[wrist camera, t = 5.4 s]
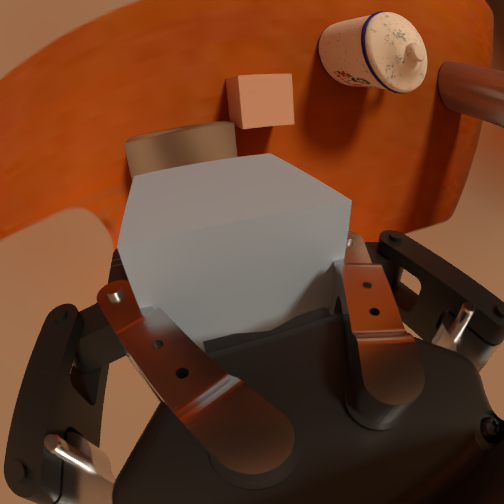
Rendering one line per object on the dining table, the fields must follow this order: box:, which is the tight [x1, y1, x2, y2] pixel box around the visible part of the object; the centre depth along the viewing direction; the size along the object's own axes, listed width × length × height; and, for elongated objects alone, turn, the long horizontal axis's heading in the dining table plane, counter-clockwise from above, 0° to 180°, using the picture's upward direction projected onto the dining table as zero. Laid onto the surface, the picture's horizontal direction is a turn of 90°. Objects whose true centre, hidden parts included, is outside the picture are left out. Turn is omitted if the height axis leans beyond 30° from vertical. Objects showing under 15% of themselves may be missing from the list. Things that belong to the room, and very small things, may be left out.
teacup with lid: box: [319, 11, 427, 93], centre depth 21 cm, size 12×9×12 cm
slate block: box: [117, 153, 352, 351], centre depth 10 cm, size 6×6×6 cm
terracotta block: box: [226, 74, 294, 129], centre depth 24 cm, size 5×5×5 cm
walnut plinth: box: [124, 120, 237, 182], centre depth 27 cm, size 10×10×4 cm
